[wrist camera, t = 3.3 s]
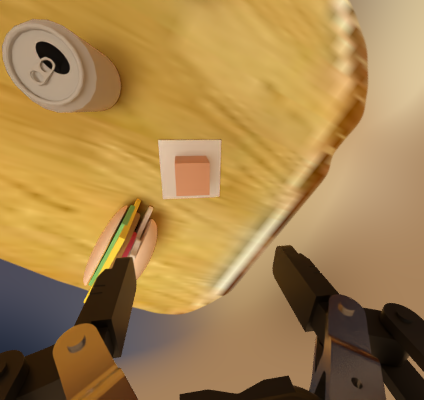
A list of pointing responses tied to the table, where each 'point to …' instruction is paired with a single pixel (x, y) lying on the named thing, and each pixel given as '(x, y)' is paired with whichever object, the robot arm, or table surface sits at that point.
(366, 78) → the table surface
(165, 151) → the pad
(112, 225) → the hamburger
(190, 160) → the block
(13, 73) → the can
